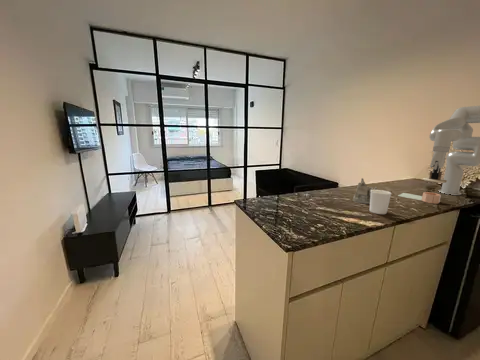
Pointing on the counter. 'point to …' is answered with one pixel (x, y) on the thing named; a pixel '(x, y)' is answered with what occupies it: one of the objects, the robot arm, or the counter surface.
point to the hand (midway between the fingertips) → (435, 178)
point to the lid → (435, 179)
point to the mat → (411, 196)
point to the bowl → (431, 197)
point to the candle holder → (379, 201)
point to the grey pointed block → (363, 193)
